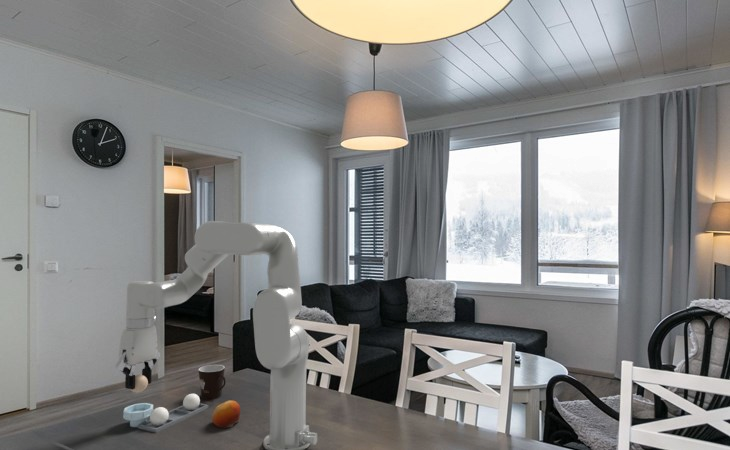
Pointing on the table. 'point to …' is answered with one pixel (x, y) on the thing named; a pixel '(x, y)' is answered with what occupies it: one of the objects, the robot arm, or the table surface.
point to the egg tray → (172, 418)
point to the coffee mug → (211, 381)
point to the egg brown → (140, 383)
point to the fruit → (226, 414)
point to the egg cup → (137, 413)
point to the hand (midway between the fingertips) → (138, 384)
